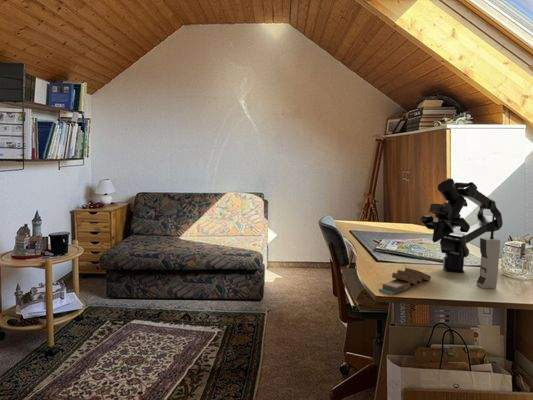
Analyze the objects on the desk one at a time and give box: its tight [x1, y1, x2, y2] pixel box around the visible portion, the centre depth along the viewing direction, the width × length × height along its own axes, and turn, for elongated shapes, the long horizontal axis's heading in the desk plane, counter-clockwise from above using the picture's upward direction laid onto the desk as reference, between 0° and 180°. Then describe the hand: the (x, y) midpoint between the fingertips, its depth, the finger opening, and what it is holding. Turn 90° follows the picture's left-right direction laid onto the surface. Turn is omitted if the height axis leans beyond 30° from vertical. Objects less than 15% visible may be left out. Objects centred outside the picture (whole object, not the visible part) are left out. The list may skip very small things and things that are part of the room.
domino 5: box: [404, 267, 432, 281], centre depth 151 cm, size 2×5×9 cm
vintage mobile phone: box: [475, 214, 501, 289], centre depth 145 cm, size 4×5×25 cm
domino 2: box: [378, 286, 409, 295], centre depth 141 cm, size 2×5×9 cm
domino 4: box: [396, 269, 424, 283], centre depth 148 cm, size 2×5×9 cm
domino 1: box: [382, 278, 411, 293], centre depth 141 cm, size 2×5×9 cm
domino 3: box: [391, 272, 419, 286], centre depth 146 cm, size 2×5×9 cm
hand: (433, 241), depth 158 cm, fingers closed
